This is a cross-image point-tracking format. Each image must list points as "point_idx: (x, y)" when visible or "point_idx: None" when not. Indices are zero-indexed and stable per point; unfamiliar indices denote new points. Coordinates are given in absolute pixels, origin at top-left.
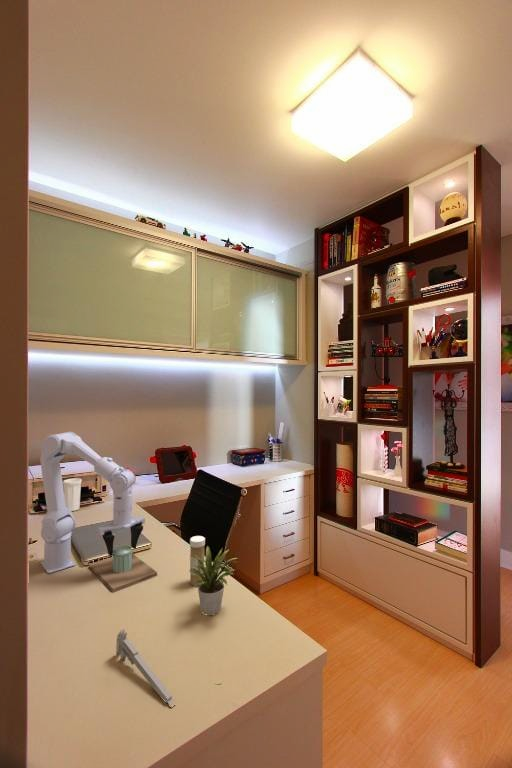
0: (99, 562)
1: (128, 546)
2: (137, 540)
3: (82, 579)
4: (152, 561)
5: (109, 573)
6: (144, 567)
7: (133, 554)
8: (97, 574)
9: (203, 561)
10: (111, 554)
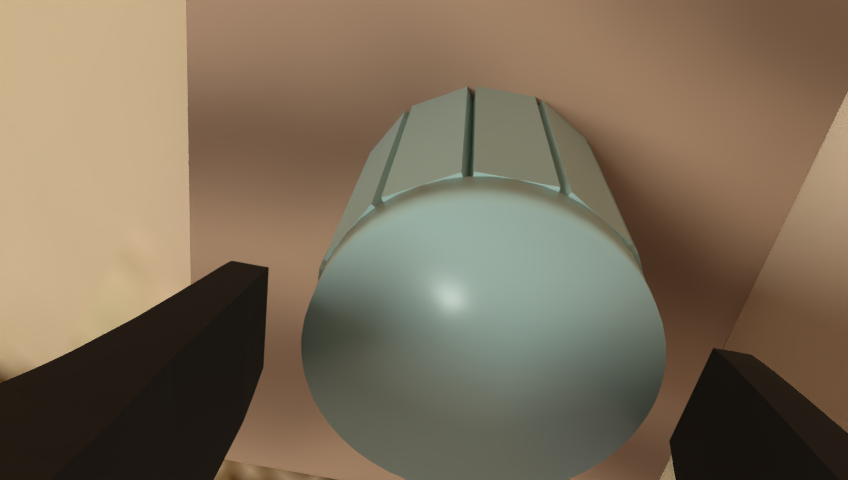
0: None
1: (316, 391)
2: (122, 329)
3: (839, 376)
4: (70, 104)
5: (662, 222)
6: None
7: None
8: (722, 327)
9: None
10: (753, 365)
